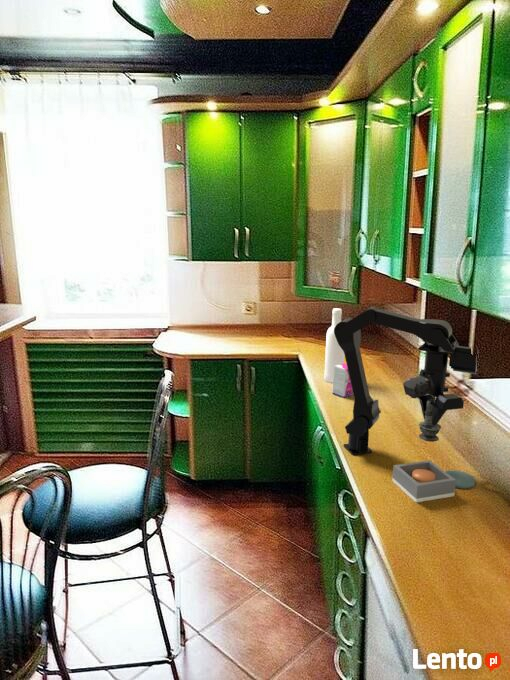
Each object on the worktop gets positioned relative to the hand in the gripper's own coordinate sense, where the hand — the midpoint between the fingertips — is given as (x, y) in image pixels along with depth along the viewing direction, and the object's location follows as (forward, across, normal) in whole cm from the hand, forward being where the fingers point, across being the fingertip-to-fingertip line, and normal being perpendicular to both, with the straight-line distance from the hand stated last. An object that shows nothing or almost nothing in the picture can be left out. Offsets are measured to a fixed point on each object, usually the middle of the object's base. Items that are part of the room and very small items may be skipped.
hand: (430, 422), depth 148 cm
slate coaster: (+13, +10, +3) cm, 16 cm away
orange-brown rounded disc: (+10, +11, -8) cm, 17 cm away
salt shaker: (+5, 0, 0) cm, 5 cm away
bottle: (+13, -76, +7) cm, 78 cm away
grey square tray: (+13, +11, -8) cm, 19 cm away
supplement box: (+13, -59, +3) cm, 61 cm away
